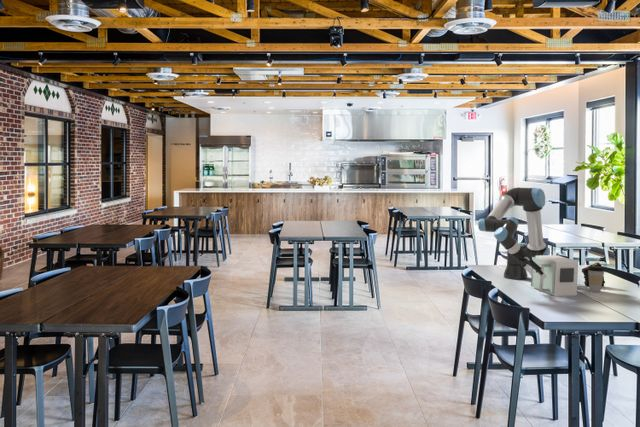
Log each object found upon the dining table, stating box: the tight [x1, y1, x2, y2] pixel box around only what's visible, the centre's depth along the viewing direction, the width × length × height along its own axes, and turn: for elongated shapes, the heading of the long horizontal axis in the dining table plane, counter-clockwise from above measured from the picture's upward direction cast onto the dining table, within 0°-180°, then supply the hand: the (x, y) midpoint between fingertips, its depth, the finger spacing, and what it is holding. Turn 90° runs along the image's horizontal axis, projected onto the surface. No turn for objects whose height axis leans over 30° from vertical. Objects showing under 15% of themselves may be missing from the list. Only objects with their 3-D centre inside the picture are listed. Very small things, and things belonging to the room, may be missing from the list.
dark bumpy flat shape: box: [581, 262, 606, 288], centre depth 348 cm, size 4×13×15 cm, turn 86°
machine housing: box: [533, 254, 579, 297], centre depth 331 cm, size 23×14×20 cm, turn 9°
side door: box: [530, 257, 555, 295], centre depth 330 cm, size 23×7×18 cm, turn 9°
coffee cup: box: [587, 265, 605, 294], centre depth 333 cm, size 9×9×15 cm
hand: (538, 275), depth 320 cm, fingers open, 13 cm apart
